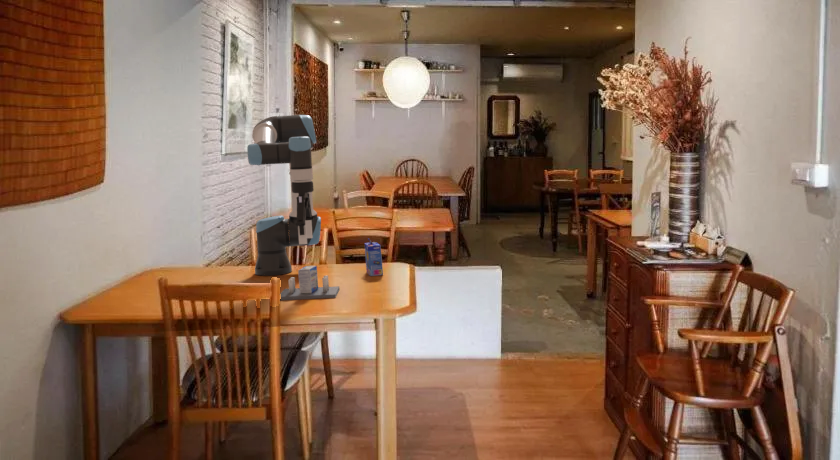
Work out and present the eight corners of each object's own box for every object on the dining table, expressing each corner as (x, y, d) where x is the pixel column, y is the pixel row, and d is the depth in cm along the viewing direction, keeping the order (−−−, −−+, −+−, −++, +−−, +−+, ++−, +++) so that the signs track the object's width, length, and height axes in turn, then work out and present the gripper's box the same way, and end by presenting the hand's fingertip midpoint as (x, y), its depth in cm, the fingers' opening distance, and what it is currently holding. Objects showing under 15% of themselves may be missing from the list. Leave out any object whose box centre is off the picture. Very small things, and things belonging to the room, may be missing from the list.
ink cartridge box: (365, 272, 318) (363, 237, 316) (378, 271, 319) (377, 236, 317) (369, 276, 308) (367, 240, 306) (383, 275, 309) (381, 239, 307)
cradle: (284, 292, 285) (283, 275, 284) (339, 289, 285) (338, 272, 284) (277, 300, 271) (276, 282, 270) (335, 297, 271) (334, 280, 270)
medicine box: (311, 293, 273) (310, 269, 272) (299, 293, 274) (297, 269, 273) (318, 289, 281) (317, 265, 280) (306, 289, 282) (305, 265, 281)
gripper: (296, 178, 285) (300, 236, 288) (285, 184, 260) (289, 247, 263) (317, 177, 285) (321, 235, 288) (307, 183, 260) (311, 246, 263)
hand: (306, 241), depth 276 cm, fingers open, 13 cm apart
